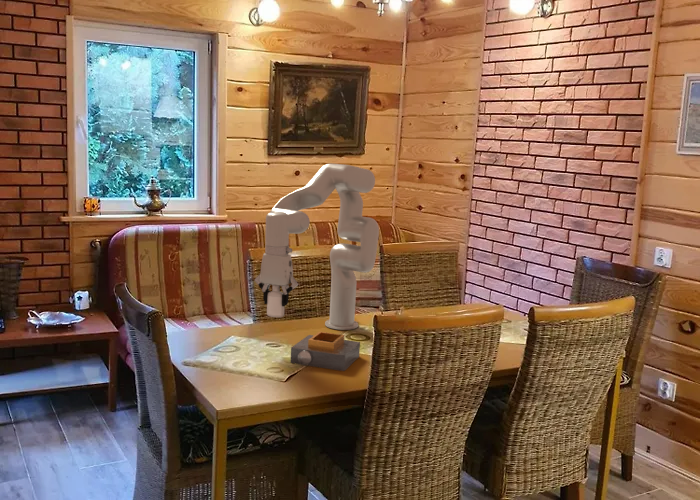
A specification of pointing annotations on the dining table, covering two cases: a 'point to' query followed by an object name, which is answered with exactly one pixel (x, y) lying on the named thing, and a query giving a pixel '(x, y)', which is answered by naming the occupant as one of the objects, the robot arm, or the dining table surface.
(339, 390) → the dining table surface
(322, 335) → the grey scale with tray
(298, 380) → the dining table surface
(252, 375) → the dining table surface
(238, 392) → the dining table surface
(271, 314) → the eye dropper bottle
